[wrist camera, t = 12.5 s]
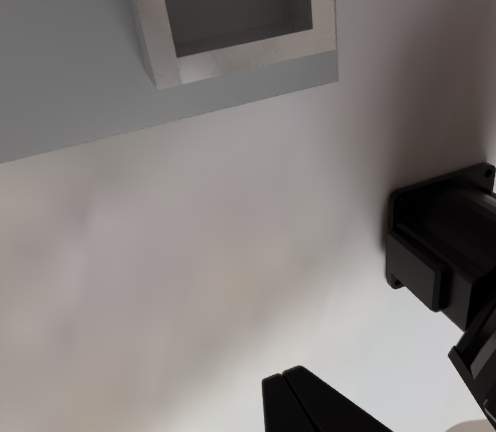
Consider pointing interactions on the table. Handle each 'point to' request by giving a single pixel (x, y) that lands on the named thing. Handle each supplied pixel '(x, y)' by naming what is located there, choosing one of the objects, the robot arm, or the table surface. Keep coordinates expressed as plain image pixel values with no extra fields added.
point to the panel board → (123, 70)
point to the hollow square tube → (229, 42)
